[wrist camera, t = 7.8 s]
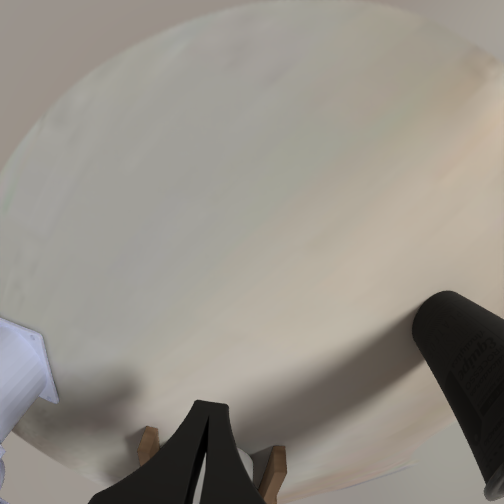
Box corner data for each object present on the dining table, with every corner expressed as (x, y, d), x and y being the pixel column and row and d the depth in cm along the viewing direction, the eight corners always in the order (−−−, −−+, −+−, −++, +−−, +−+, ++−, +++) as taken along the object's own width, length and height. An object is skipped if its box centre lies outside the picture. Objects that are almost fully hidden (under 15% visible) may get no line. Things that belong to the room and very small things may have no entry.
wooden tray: (146, 479, 25) (140, 499, 22) (136, 423, 22) (125, 447, 19) (273, 497, 25) (274, 519, 22) (296, 446, 22) (299, 472, 19)
